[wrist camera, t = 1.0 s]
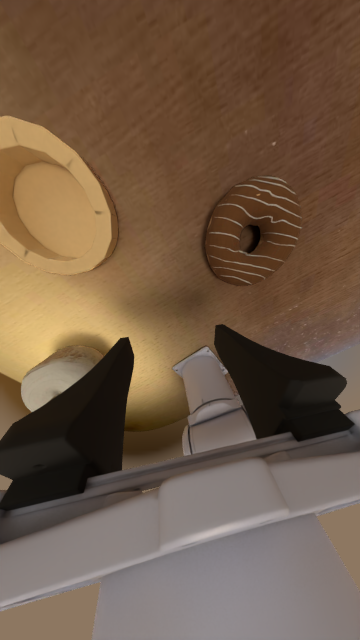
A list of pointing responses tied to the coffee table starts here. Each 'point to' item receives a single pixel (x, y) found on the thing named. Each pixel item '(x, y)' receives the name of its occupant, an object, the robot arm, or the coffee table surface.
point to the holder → (51, 202)
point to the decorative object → (57, 374)
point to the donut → (259, 210)
